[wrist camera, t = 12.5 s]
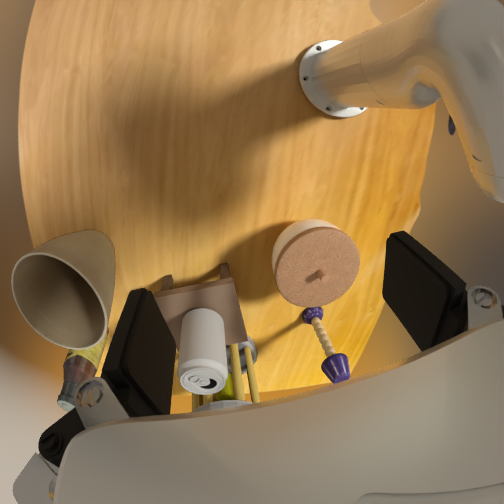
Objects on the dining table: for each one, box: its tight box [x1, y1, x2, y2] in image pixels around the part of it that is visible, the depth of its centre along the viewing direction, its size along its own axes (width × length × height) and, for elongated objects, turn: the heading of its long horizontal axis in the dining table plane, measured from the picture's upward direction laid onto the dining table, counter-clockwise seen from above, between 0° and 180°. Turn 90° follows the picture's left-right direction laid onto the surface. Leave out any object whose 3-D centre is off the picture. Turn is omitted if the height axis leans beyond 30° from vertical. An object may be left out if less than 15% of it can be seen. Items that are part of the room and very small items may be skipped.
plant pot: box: [11, 230, 115, 350], centre depth 34 cm, size 15×15×16 cm
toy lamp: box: [302, 306, 350, 384], centre depth 46 cm, size 5×5×17 cm
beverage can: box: [178, 308, 228, 395], centre depth 37 cm, size 6×6×12 cm
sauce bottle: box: [57, 327, 109, 412], centre depth 40 cm, size 6×6×20 cm
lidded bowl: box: [272, 219, 360, 307], centre depth 41 cm, size 13×13×11 cm
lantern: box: [192, 335, 260, 412], centre depth 44 cm, size 14×14×25 cm
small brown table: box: [154, 263, 248, 352], centre depth 45 cm, size 12×12×7 cm
